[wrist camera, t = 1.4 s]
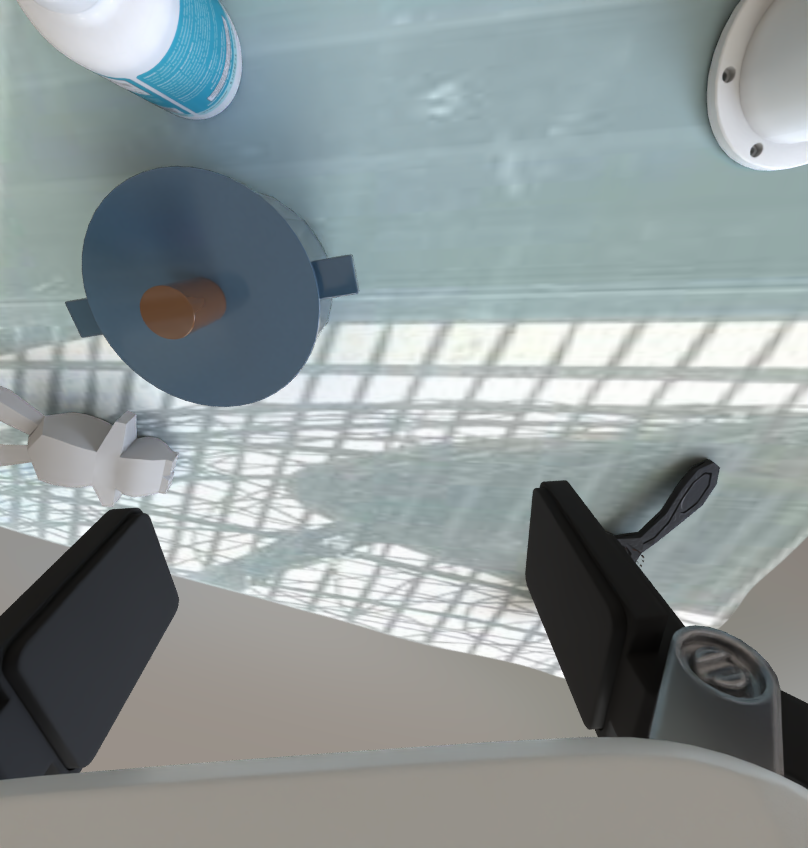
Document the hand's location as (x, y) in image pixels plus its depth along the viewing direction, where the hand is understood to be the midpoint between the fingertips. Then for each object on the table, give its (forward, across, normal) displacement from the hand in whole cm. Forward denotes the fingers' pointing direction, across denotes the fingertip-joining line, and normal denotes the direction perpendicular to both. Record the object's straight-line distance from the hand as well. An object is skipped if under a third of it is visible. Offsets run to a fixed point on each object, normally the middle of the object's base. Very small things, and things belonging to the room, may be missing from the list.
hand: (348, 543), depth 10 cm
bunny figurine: (+29, +27, +9) cm, 41 cm away
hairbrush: (+28, -25, +25) cm, 45 cm away
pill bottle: (+28, +11, -19) cm, 36 cm away
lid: (+20, +10, -4) cm, 22 cm away
